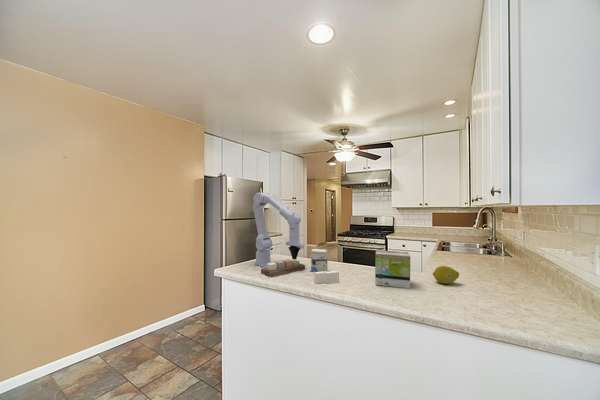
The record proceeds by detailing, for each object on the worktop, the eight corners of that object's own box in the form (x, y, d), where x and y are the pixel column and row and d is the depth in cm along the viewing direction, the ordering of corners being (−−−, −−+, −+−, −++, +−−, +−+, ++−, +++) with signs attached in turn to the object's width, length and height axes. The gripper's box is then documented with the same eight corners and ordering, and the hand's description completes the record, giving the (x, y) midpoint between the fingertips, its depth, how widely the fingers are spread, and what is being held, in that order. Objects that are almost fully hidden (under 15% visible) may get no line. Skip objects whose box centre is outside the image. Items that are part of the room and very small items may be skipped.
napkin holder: (343, 281, 123) (343, 269, 123) (338, 288, 113) (337, 276, 113) (314, 277, 129) (314, 266, 129) (306, 284, 118) (306, 272, 118)
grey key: (274, 267, 138) (274, 261, 138) (280, 266, 141) (280, 260, 141) (278, 268, 135) (278, 263, 135) (284, 267, 138) (284, 262, 138)
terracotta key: (282, 265, 142) (282, 260, 142) (288, 264, 144) (288, 259, 144) (286, 267, 138) (286, 261, 138) (292, 265, 141) (292, 260, 141)
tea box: (375, 285, 115) (374, 253, 115) (375, 279, 125) (375, 249, 124) (410, 289, 110) (410, 255, 110) (408, 281, 120) (407, 250, 120)
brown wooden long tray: (261, 273, 136) (260, 268, 136) (294, 265, 151) (294, 261, 151) (270, 277, 129) (270, 272, 128) (305, 269, 143) (305, 264, 143)
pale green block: (289, 266, 145) (289, 261, 145) (295, 265, 147) (295, 260, 147) (294, 267, 142) (293, 262, 142) (299, 266, 144) (299, 261, 144)
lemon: (432, 284, 116) (432, 267, 116) (432, 279, 123) (432, 263, 123) (460, 288, 111) (460, 270, 111) (458, 282, 118) (458, 265, 118)
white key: (266, 269, 135) (266, 263, 135) (272, 267, 138) (272, 262, 137) (270, 270, 132) (270, 265, 132) (276, 269, 134) (276, 263, 134)
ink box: (310, 271, 138) (310, 250, 138) (312, 269, 142) (312, 248, 142) (326, 273, 135) (325, 251, 135) (327, 270, 140) (327, 249, 140)
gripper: (307, 236, 141) (307, 260, 141) (292, 233, 153) (292, 255, 153) (298, 237, 137) (298, 262, 137) (282, 234, 148) (282, 257, 148)
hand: (294, 259), depth 144 cm, fingers closed
